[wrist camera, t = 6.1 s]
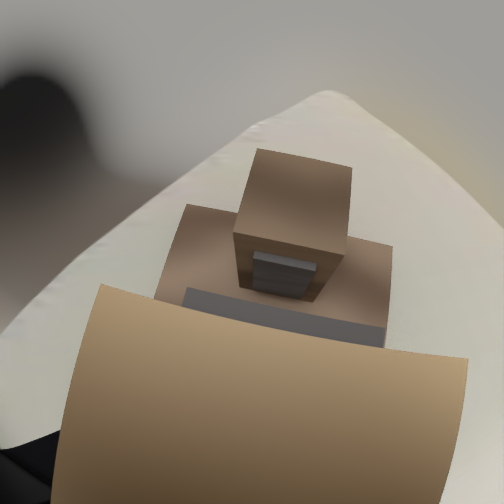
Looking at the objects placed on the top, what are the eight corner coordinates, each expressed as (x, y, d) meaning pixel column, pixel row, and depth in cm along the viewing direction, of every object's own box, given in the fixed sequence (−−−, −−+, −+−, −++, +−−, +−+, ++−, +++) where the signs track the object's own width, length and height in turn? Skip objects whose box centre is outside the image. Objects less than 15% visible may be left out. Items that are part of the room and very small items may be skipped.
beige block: (281, 458, 13) (368, 636, 1) (201, 441, 13) (48, 572, 1) (302, 372, 15) (470, 307, 3) (223, 355, 15) (120, 232, 3)
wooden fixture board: (343, 497, 16) (396, 552, 8) (121, 448, 18) (47, 474, 9) (385, 254, 24) (442, 186, 15) (190, 213, 25) (163, 129, 17)
